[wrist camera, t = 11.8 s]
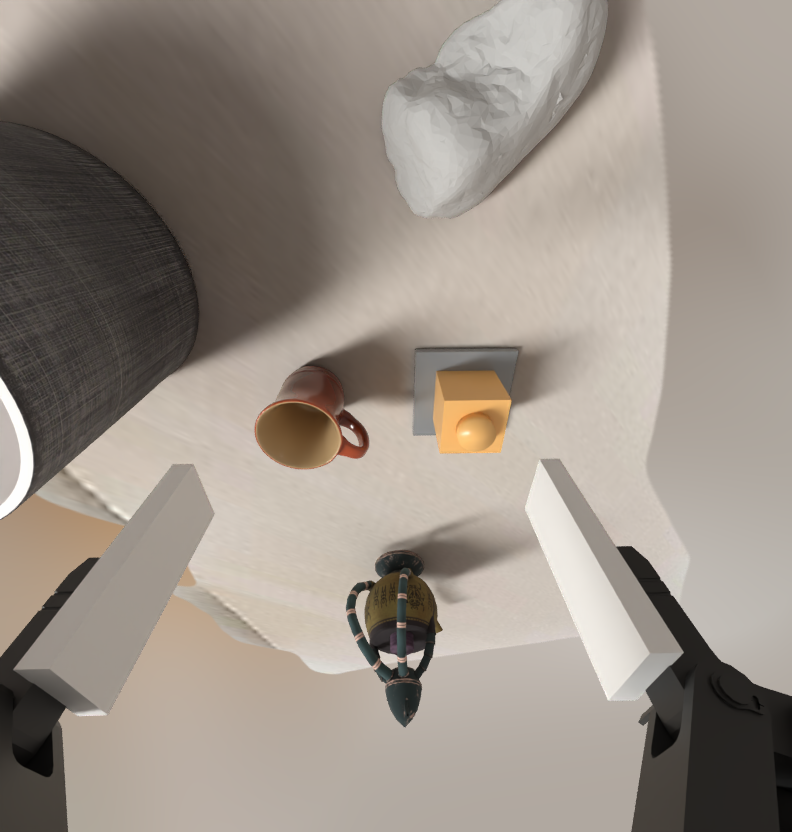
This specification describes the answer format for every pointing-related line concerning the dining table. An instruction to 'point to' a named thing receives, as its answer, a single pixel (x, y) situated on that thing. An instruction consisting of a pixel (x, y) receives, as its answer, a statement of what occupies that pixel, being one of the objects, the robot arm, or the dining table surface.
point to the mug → (309, 422)
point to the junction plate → (454, 361)
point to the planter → (78, 305)
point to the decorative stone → (488, 100)
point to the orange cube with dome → (470, 411)
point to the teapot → (397, 627)
